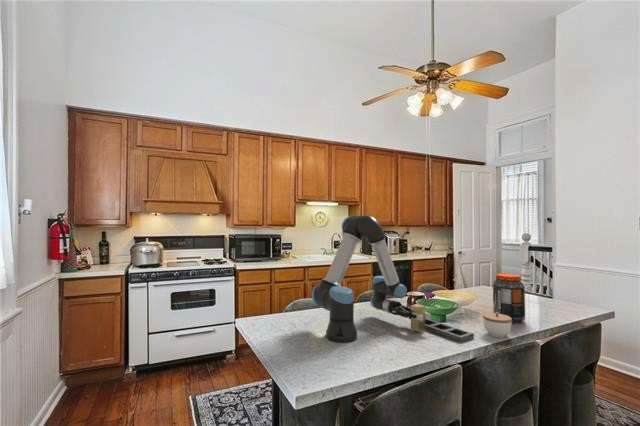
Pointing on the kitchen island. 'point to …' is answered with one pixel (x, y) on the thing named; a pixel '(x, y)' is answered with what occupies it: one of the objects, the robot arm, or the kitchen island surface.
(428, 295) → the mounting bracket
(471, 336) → the dark grey slotted tray
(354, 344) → the kitchen island surface
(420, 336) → the kitchen island surface
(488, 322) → the lidded bowl
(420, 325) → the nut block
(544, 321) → the kitchen island surface
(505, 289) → the supplement tub
